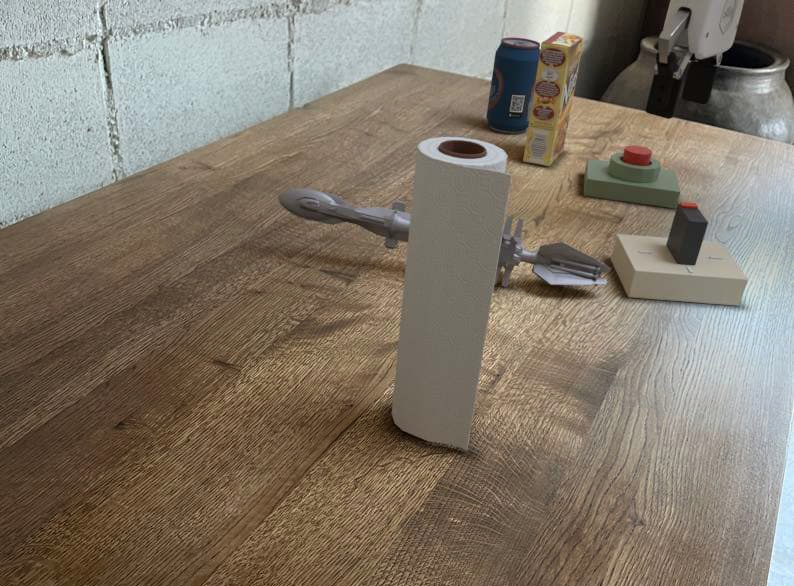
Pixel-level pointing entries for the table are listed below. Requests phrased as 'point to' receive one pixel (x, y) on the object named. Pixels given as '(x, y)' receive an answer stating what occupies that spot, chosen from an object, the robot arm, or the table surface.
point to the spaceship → (549, 262)
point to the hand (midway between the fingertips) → (677, 108)
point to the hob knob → (686, 233)
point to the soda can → (513, 85)
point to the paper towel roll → (448, 285)
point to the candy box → (552, 97)
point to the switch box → (631, 182)
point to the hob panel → (677, 272)
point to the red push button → (637, 155)
